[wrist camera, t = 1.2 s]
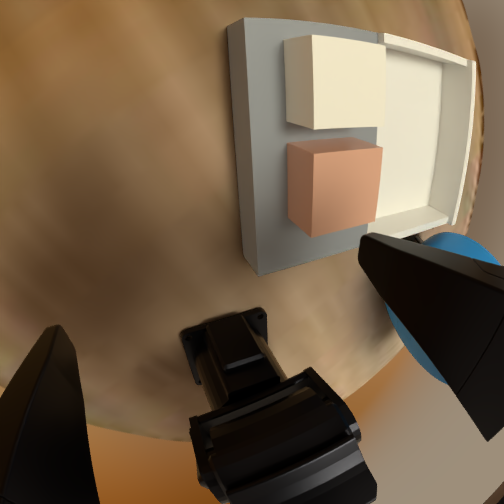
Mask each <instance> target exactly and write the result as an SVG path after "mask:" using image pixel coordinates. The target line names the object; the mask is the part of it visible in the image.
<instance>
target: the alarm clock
mask: <svg viewBox="0 0 504 504" xmlns="http://www.w3.org/2000/svg"><path fill="white" fill-rule="evenodd" d="M415 239H416V241H417V243H419V244H423V245H427V246H431V247H434V248H438V249H442V250H446V251H449V252H453V253H457V254H460V255H464V256H467V257H471V258H475V259H478V260H482V261H485V262H489V263H493V264H496V265H500V264H499V262H498V261H497V260H496V259H495V258H494V256H493V255H491V254H490V252H489V251H487V250H486V249H485V248H484V247H483V246H481V245H480V244H479V243H477V242H476V241H474V240H472V239H470V238H468V237H466V236H464V235H461V234H457V233H451V232H443V233H438V234H435V235H433V236H431V237H430V238H428V239H427V240H426V241H422V240H421V239H420V238H419V237H418V236H416V237H415ZM500 266H501V265H500ZM385 304H386V303H385ZM386 308H387V311H388V314H389V316H390V319H391V321H392V323H393V325H394V327H395V329H396V331H397V333H398V335H399V337H400V338H401V340H402V341H403V343H404V345H405V346H406V347H407V349H408V350H409V352H410V353H411V354H412V356H413V357H414V358H415V359H416V360H417V361H418V363H419V364H420V365H422V367H423V368H424V369H425V370H426V371H427V372H429V373H430V374H431V375H432V376H434V377H435V378H436V379H438V380H439V381H441V382H443V383H445V384H447V382H446V381H445V380H444V378H443V377H442V375H441V374H440V373H439V371H438V370H437V369H436V367H435V366H434V364H433V363H432V362H431V360H430V359H429V358H428V356H427V355H426V354H425V352H424V351H423V350H422V348H421V347H420V346H419V345H418V343H417V342H416V341H415V339H414V338H413V337H412V335H411V334H410V333H409V332H408V330H407V329H406V328H405V326H404V325H403V324H402V323H401V321H400V320H399V319H398V318H397V316H396V315H395V314H394V313H393V311H392V310H391V309H390V308H389V306H388V305H387V304H386ZM447 385H448V384H447Z"/></svg>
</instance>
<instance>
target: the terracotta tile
mask: <svg viewBox="0 0 504 504" xmlns="http://www.w3.org/2000/svg"><path fill="white" fill-rule="evenodd" d="M382 154H383V147H380V146H377V145H374V144H372V143H369V142H366V141H363V140H360V139H357V138H354V137H344V138H330V139H318V140H308V141H298V142H288V143H287V177H288V218H289V219H290V220H291V221H292V222H293V223H295V224H296V225H297V226H298V227H299V228H300V229H301V230H303V231H304V232H305V233H306V234H307V235H308V236H309V237H311V238H313V237H317V236H321V235H325V234H328V233H332V232H336V231H340V230H344V229H348V228H352V227H355V226H359V225H363V224H367V223H371V222H375V218H376V210H377V202H378V194H379V185H380V176H381V165H382Z"/></svg>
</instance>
